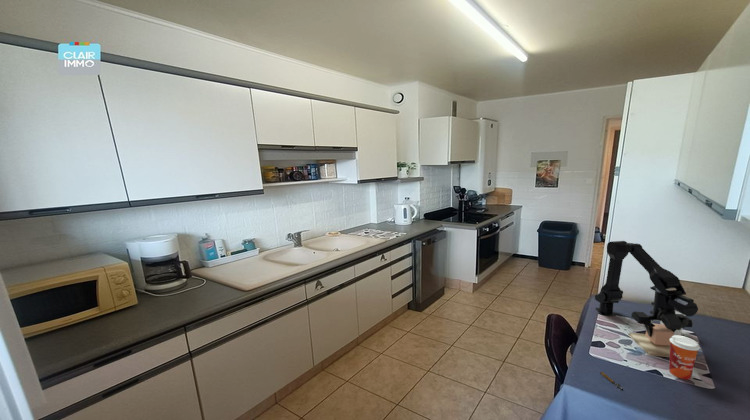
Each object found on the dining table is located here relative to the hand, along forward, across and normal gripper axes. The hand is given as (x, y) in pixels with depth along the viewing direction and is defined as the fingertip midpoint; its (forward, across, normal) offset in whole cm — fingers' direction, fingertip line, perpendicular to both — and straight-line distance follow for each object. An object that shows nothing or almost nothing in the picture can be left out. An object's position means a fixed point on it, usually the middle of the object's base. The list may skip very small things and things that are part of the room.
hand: (658, 337), depth 125 cm
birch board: (+4, 0, 0) cm, 4 cm away
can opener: (+5, -29, -25) cm, 39 cm away
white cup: (+4, +12, +12) cm, 17 cm away
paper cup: (+4, -3, -17) cm, 18 cm away
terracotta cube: (+2, 0, 0) cm, 2 cm away
